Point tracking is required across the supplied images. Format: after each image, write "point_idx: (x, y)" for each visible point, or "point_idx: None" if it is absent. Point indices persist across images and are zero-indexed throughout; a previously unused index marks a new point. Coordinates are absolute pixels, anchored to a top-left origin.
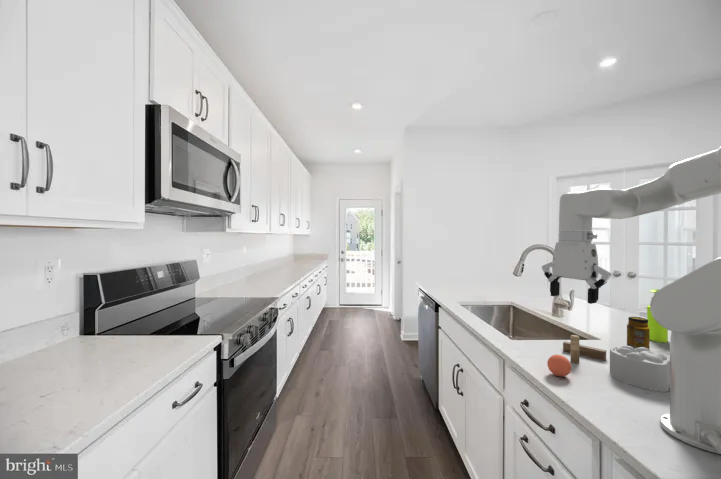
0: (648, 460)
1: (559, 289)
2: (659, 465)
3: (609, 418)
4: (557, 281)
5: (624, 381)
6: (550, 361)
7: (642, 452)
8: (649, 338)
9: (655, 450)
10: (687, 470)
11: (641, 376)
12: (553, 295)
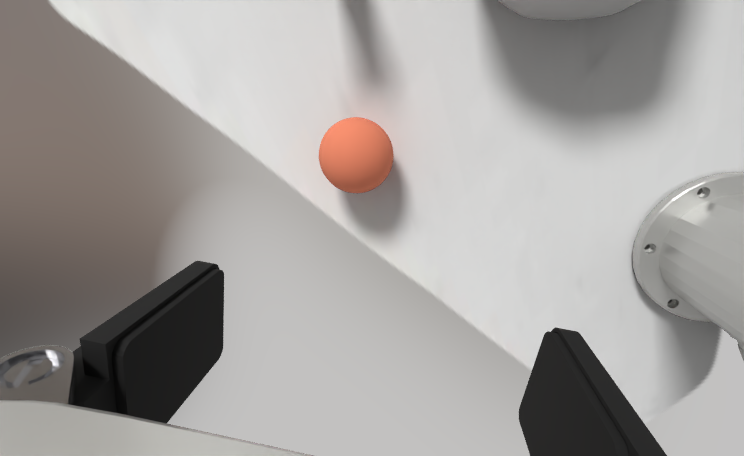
0: None
1: (187, 293)
2: None
3: (533, 313)
4: (101, 391)
5: (526, 16)
6: (336, 186)
7: None
8: None
9: (622, 375)
10: (670, 401)
11: (594, 8)
12: (219, 355)
